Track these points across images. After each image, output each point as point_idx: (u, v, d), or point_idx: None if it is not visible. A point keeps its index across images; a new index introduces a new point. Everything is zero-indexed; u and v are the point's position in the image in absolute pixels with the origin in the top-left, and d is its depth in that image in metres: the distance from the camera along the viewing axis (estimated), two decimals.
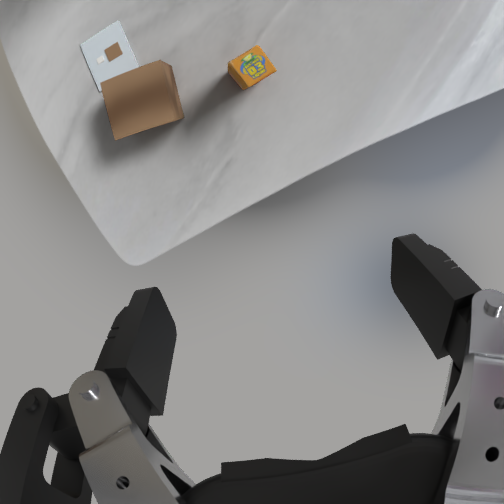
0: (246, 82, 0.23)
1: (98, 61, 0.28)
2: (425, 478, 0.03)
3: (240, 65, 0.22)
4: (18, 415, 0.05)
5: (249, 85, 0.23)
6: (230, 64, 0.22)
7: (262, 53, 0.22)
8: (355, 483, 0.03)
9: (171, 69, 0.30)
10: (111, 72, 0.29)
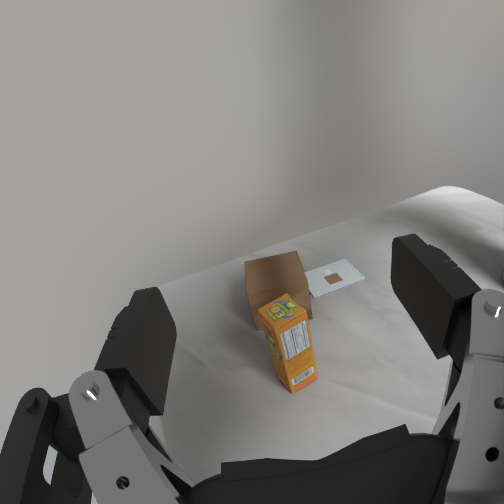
0: (263, 307, 0.25)
1: (326, 270, 0.44)
2: (425, 478, 0.03)
3: (282, 300, 0.25)
4: (18, 415, 0.05)
5: (259, 309, 0.25)
6: (284, 294, 0.26)
7: (295, 315, 0.23)
8: (355, 483, 0.03)
9: (307, 316, 0.36)
10: (313, 279, 0.43)
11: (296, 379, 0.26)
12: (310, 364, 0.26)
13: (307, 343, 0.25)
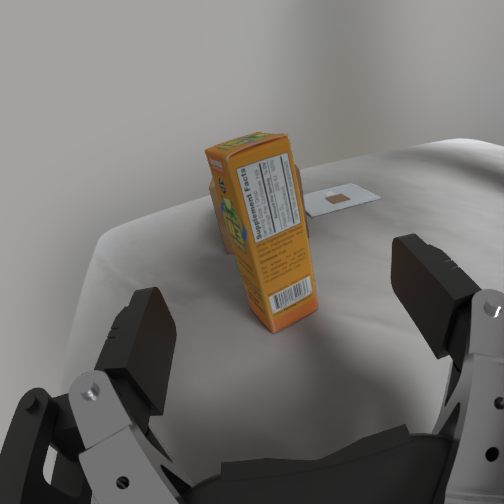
0: (214, 146, 0.14)
1: (328, 192, 0.33)
2: (425, 478, 0.03)
3: (247, 135, 0.14)
4: (18, 415, 0.05)
5: (207, 149, 0.14)
6: (253, 134, 0.15)
7: (267, 138, 0.12)
8: (355, 483, 0.03)
9: None
10: (311, 200, 0.31)
11: (278, 300, 0.15)
12: (303, 270, 0.15)
13: (295, 214, 0.14)
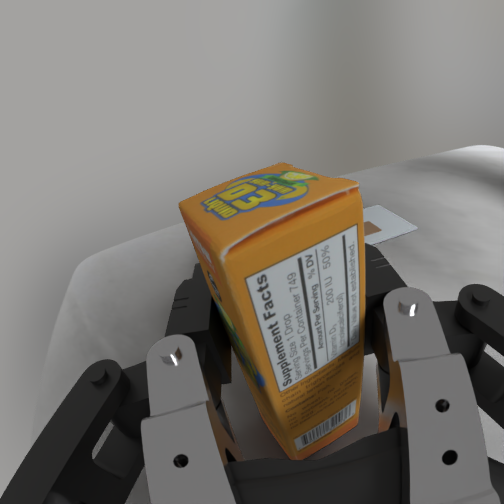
0: (197, 195, 0.07)
1: None
2: None
3: (264, 172, 0.07)
4: (81, 385, 0.06)
5: (182, 201, 0.07)
6: None
7: (318, 195, 0.05)
8: (355, 483, 0.03)
9: None
10: None
11: (306, 437, 0.08)
12: (349, 397, 0.08)
13: (353, 332, 0.07)
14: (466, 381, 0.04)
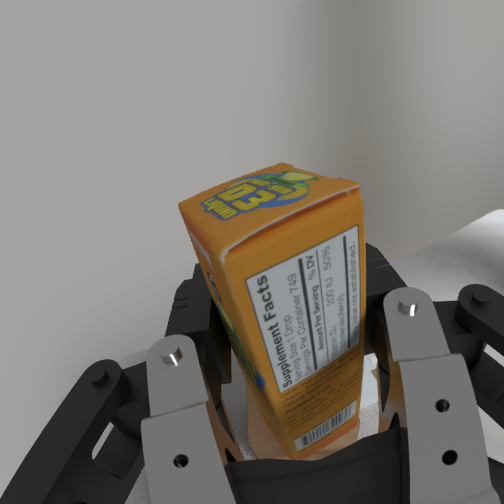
0: (196, 195, 0.07)
1: (374, 357, 0.26)
2: None
3: (264, 173, 0.07)
4: (81, 385, 0.06)
5: (182, 202, 0.07)
6: None
7: (319, 196, 0.05)
8: (355, 483, 0.03)
9: None
10: None
11: (306, 438, 0.08)
12: (349, 398, 0.08)
13: (354, 333, 0.07)
14: (466, 381, 0.04)
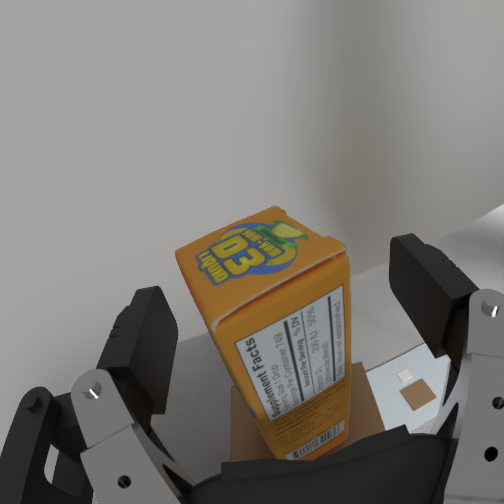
0: (192, 243, 0.07)
1: (402, 372, 0.19)
2: (425, 478, 0.03)
3: (257, 221, 0.07)
4: (20, 414, 0.05)
5: (178, 250, 0.07)
6: None
7: (305, 263, 0.06)
8: (355, 483, 0.03)
9: None
10: (379, 397, 0.18)
11: (297, 453, 0.09)
12: (337, 418, 0.09)
13: (339, 369, 0.07)
14: None
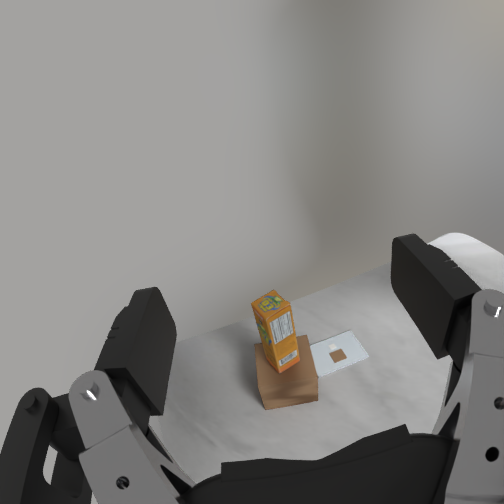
0: (255, 301, 0.31)
1: (331, 345, 0.43)
2: (425, 478, 0.03)
3: (270, 295, 0.31)
4: (18, 415, 0.05)
5: (252, 303, 0.31)
6: (272, 290, 0.32)
7: (282, 307, 0.29)
8: (355, 483, 0.03)
9: (313, 399, 0.35)
10: (318, 355, 0.42)
11: (282, 361, 0.33)
12: (293, 348, 0.33)
13: (291, 330, 0.31)
14: None
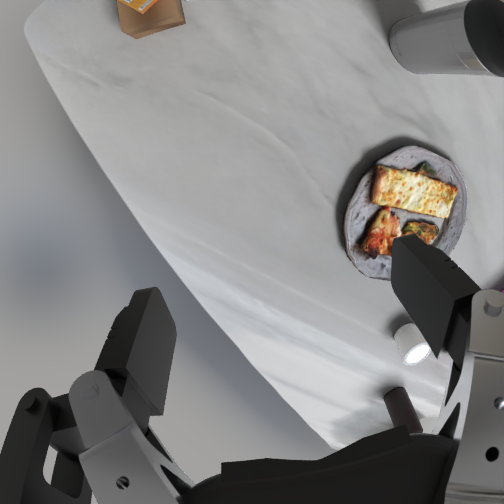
0: None
1: None
2: (425, 478, 0.03)
3: None
4: (18, 415, 0.05)
5: None
6: None
7: None
8: (355, 483, 0.03)
9: (180, 23, 0.30)
10: None
11: (142, 6, 0.23)
12: None
13: None
14: None
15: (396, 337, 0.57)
